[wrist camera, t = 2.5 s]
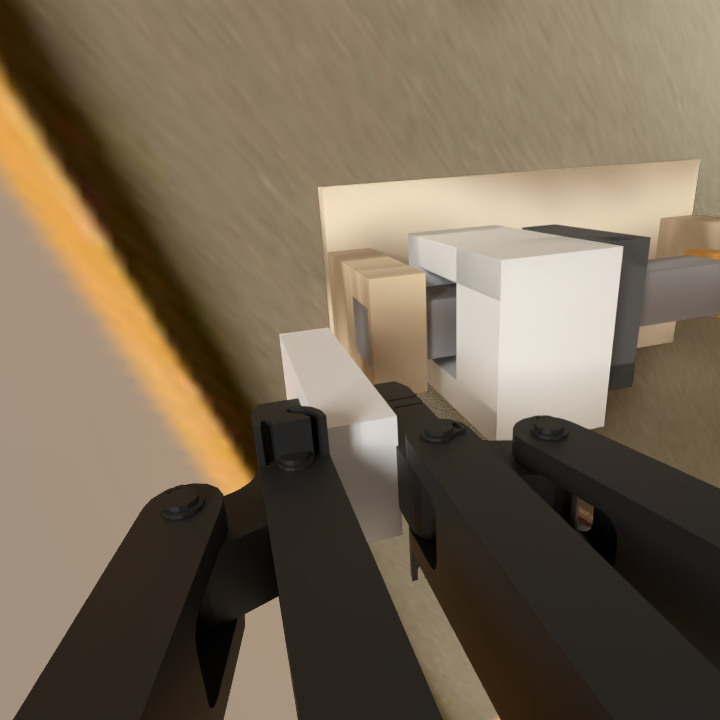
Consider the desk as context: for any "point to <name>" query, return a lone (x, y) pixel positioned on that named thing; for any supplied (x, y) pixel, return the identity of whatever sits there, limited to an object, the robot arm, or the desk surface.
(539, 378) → the sleeve
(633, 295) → the dark grey block
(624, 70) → the desk surface
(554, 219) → the pipe rig
